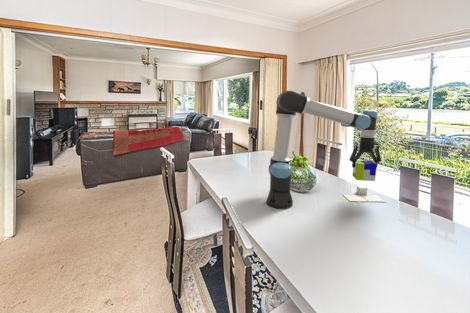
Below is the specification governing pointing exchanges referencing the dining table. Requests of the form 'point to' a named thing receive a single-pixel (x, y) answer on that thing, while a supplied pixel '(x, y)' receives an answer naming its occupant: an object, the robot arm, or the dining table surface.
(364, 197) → the board
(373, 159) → the robot arm
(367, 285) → the dining table surface
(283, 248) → the dining table surface
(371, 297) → the dining table surface
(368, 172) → the puzzle toy
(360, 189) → the die
